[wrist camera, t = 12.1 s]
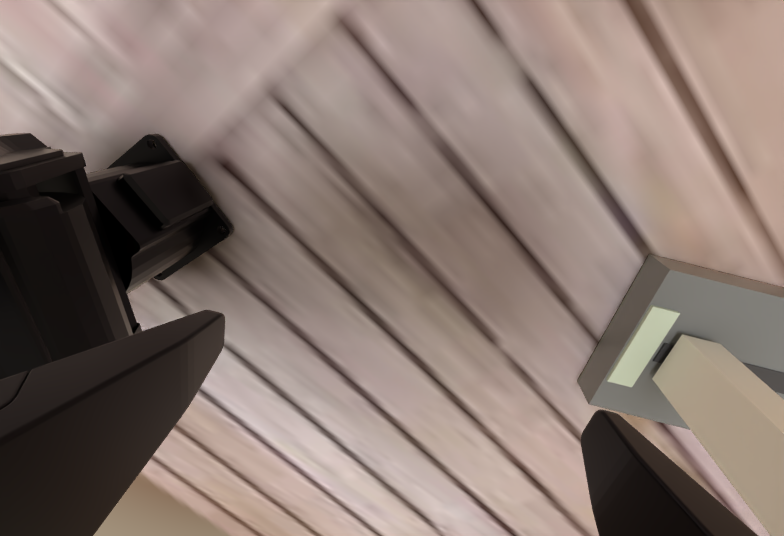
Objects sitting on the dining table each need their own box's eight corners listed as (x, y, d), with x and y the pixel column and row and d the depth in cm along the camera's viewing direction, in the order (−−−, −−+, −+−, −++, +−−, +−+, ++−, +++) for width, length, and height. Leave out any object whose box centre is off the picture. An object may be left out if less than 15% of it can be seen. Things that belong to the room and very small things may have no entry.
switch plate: (577, 381, 24) (589, 406, 22) (649, 254, 20) (672, 271, 18) (761, 427, 24) (790, 457, 22) (868, 308, 20) (916, 332, 18)
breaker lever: (645, 381, 21) (824, 628, 11) (681, 328, 19) (924, 561, 10) (688, 392, 21) (903, 648, 11) (727, 340, 19) (1016, 584, 10)
